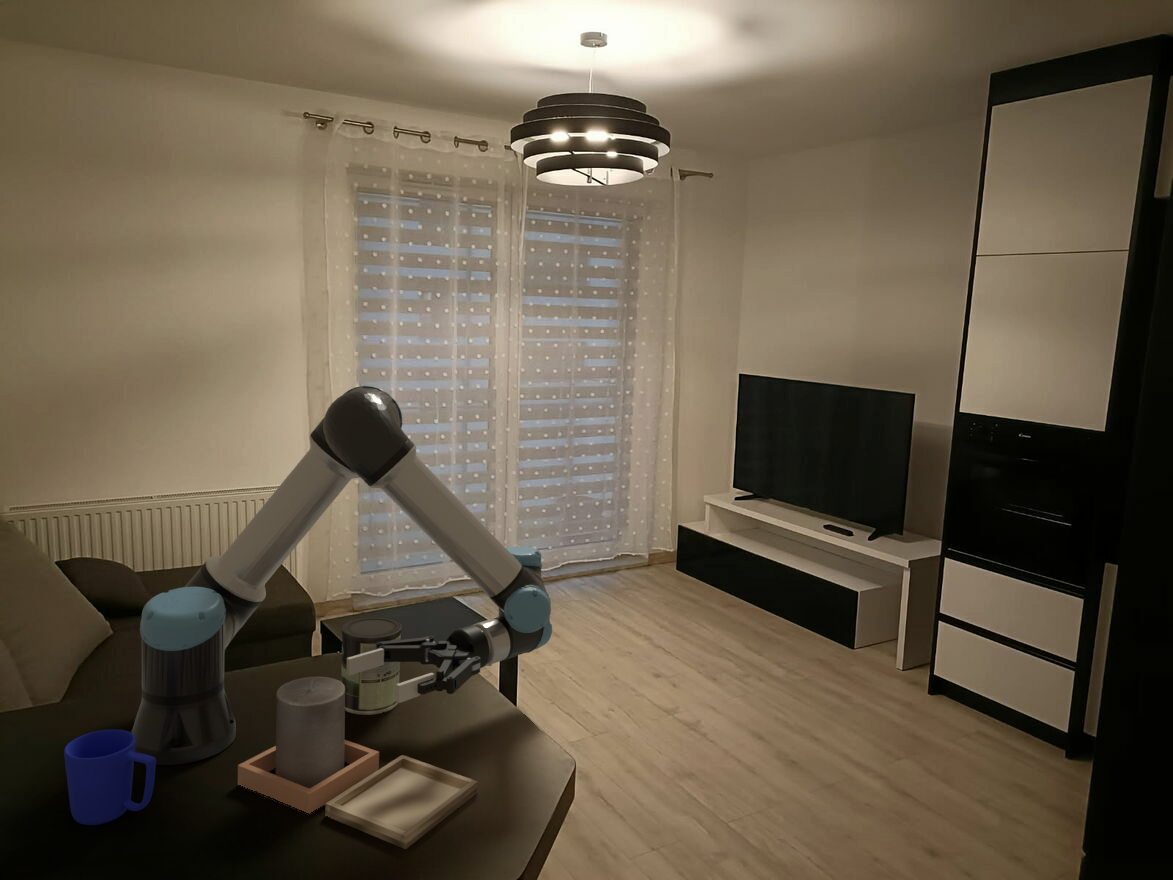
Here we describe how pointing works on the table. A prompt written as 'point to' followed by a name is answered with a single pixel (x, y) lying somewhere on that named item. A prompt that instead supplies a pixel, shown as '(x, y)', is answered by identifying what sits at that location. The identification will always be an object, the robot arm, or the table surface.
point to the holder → (300, 797)
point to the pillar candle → (310, 730)
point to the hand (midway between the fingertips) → (371, 679)
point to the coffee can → (374, 685)
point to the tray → (401, 800)
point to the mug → (104, 776)
